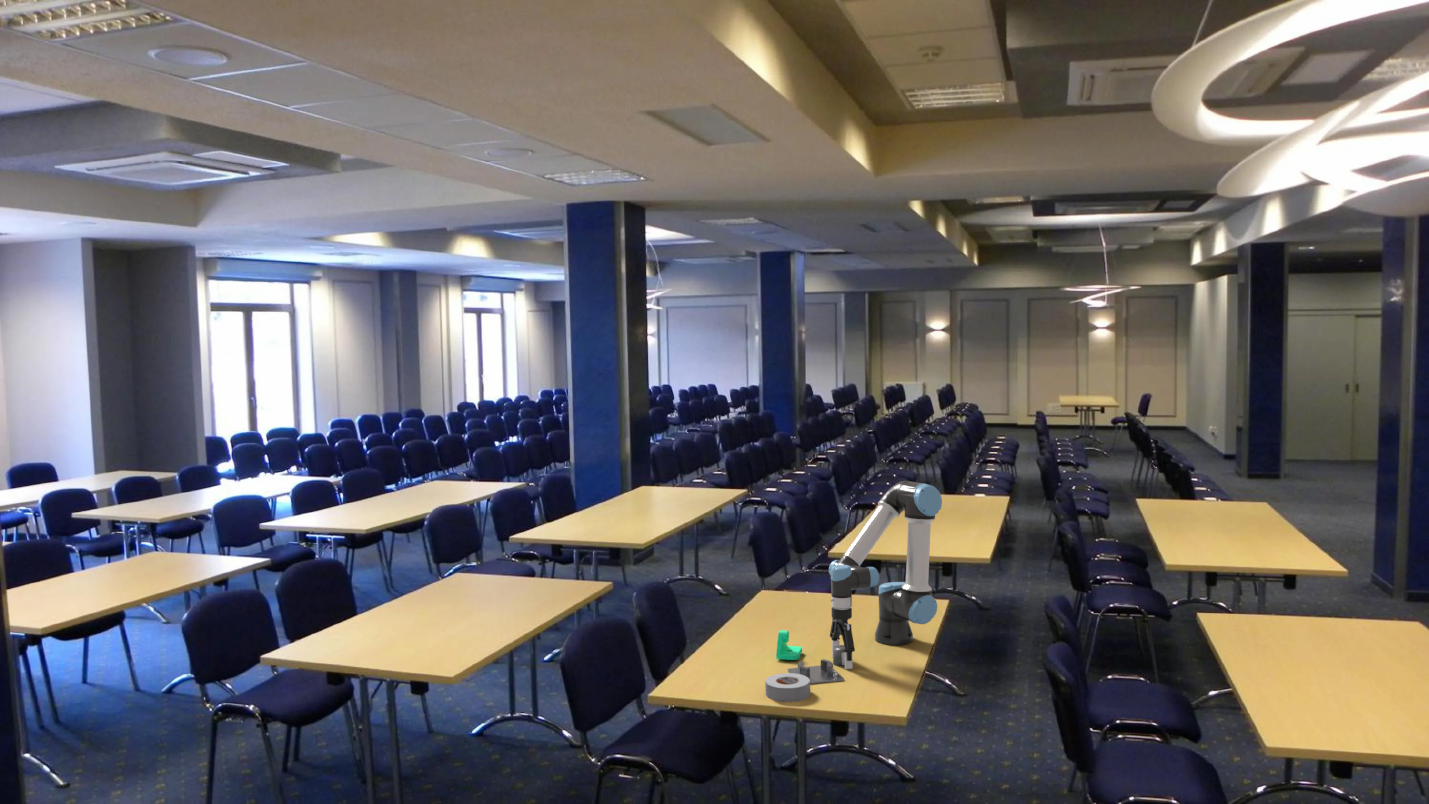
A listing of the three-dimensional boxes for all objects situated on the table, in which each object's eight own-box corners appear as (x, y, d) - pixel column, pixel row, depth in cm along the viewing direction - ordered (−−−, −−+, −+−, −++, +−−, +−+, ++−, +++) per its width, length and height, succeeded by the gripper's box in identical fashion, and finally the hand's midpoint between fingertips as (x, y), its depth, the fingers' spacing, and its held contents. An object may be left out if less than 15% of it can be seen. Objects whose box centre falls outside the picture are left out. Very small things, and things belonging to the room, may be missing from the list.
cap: (847, 659, 379) (847, 643, 379) (855, 666, 371) (855, 650, 371) (829, 661, 378) (829, 645, 377) (837, 668, 370) (837, 652, 369)
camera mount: (796, 662, 377) (795, 636, 376) (776, 661, 379) (775, 634, 378) (802, 653, 388) (802, 627, 388) (783, 652, 391) (782, 626, 390)
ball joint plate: (829, 666, 371) (828, 655, 371) (844, 680, 356) (843, 668, 355) (787, 670, 368) (787, 659, 367) (801, 685, 352) (800, 673, 352)
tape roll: (766, 703, 336) (766, 688, 336) (764, 687, 351) (764, 673, 351) (812, 702, 336) (812, 687, 336) (808, 686, 351) (807, 672, 351)
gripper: (821, 599, 384) (821, 653, 386) (843, 616, 360) (844, 674, 361) (839, 598, 386) (840, 652, 387) (863, 615, 362) (863, 672, 363)
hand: (842, 663), depth 374 cm, fingers open, 13 cm apart
